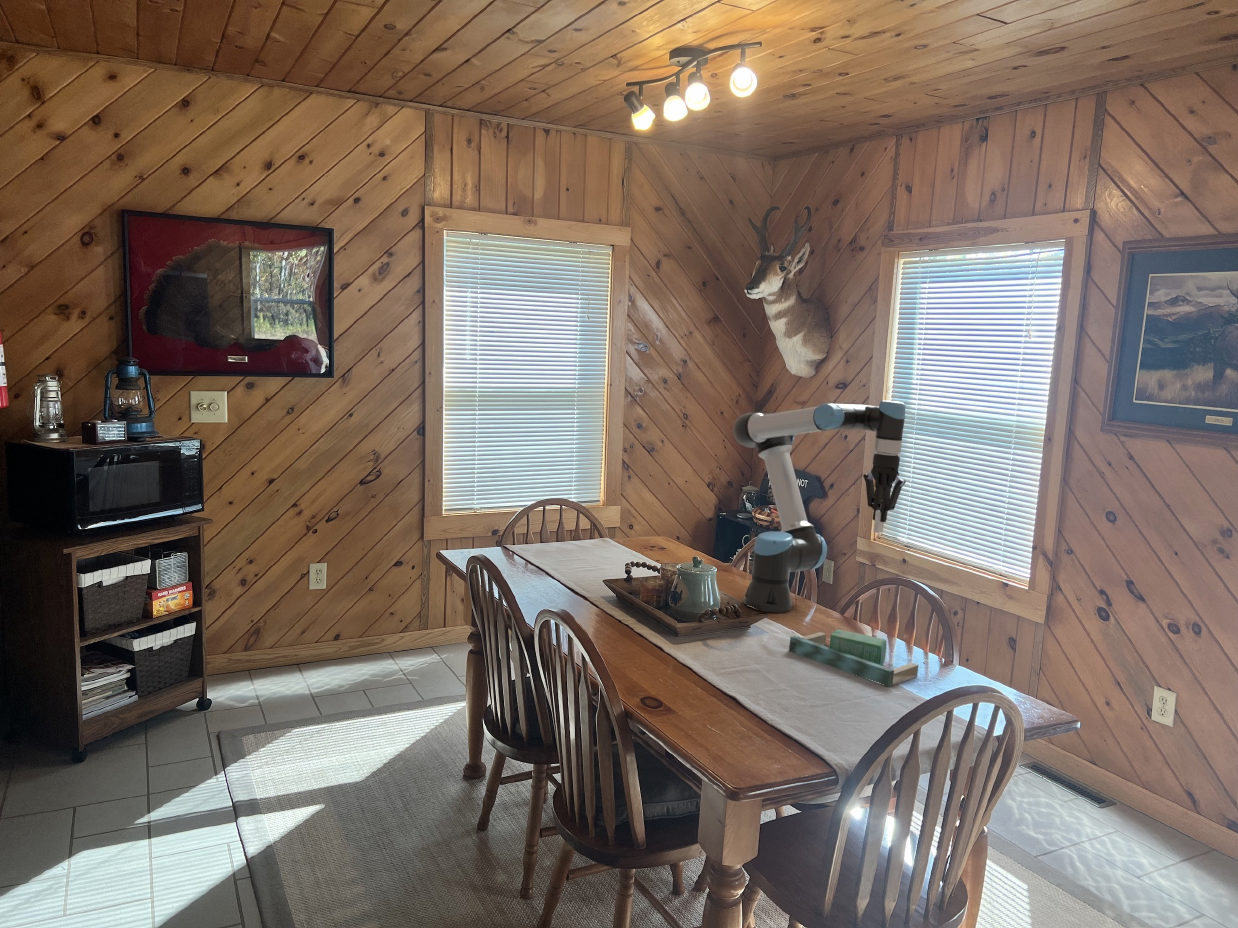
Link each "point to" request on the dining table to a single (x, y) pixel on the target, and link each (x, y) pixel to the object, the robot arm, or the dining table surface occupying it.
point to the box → (859, 645)
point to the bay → (849, 660)
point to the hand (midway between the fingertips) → (878, 532)
